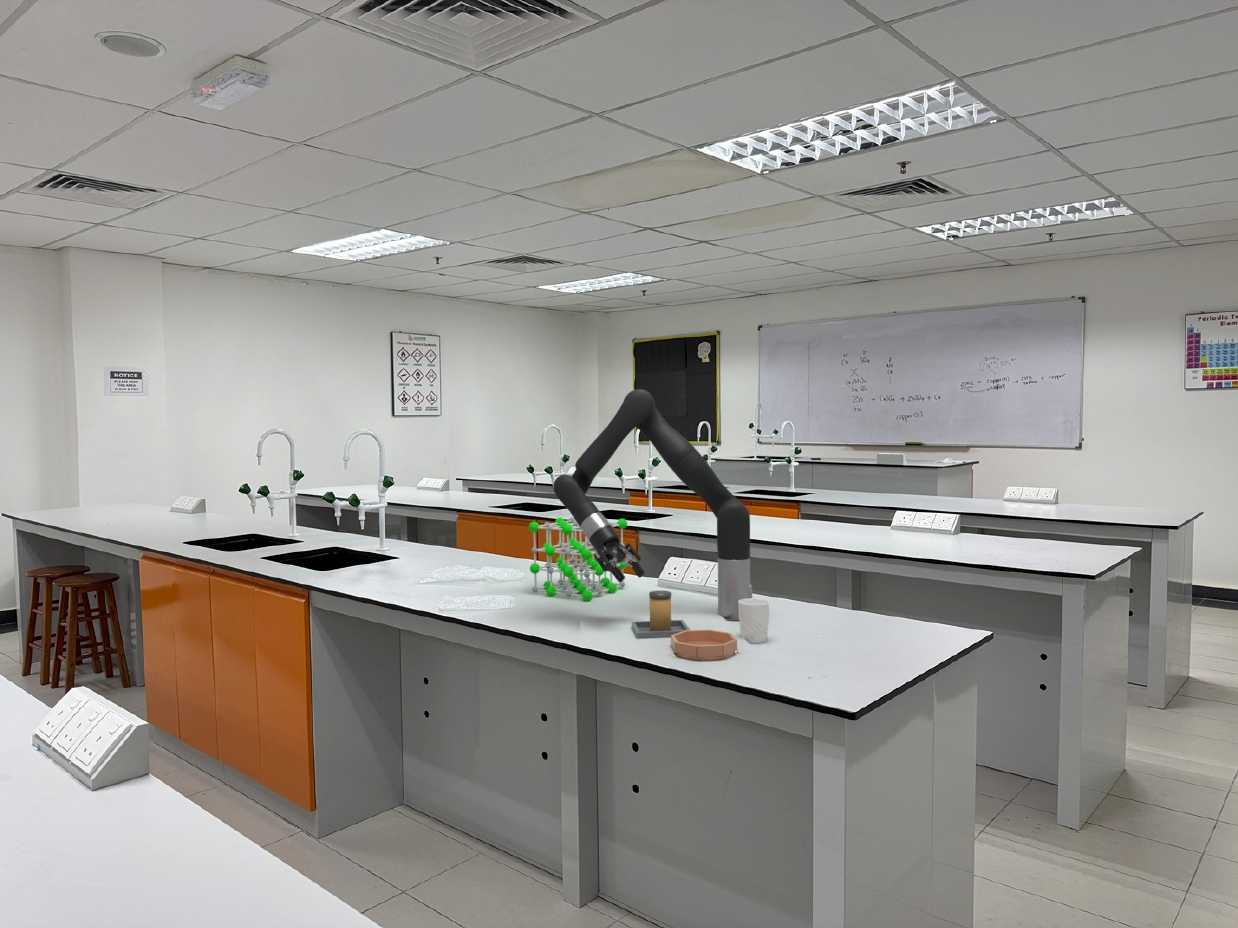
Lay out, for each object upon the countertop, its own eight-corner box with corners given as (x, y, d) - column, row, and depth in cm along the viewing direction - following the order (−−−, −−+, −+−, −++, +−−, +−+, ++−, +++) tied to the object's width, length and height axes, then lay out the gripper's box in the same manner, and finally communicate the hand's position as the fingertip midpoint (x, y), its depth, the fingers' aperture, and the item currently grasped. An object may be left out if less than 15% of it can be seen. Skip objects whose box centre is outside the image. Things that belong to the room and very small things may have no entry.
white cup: (762, 645, 206) (762, 606, 205) (733, 641, 210) (733, 602, 209) (774, 638, 212) (773, 600, 212) (745, 634, 216) (745, 597, 216)
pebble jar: (669, 628, 220) (669, 590, 219) (673, 633, 214) (672, 594, 214) (648, 629, 219) (647, 590, 219) (651, 634, 213) (650, 595, 213)
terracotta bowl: (726, 642, 209) (726, 628, 209) (741, 659, 194) (741, 644, 194) (667, 644, 207) (667, 631, 207) (678, 661, 192) (678, 647, 192)
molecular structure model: (630, 588, 279) (629, 518, 278) (588, 602, 258) (587, 526, 257) (572, 582, 292) (571, 514, 291) (528, 594, 271) (526, 522, 270)
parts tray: (682, 628, 223) (682, 619, 223) (691, 640, 211) (691, 630, 211) (631, 630, 222) (631, 621, 222) (637, 642, 210) (637, 632, 210)
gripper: (589, 526, 221) (623, 573, 215) (623, 521, 232) (656, 565, 226) (575, 544, 225) (608, 590, 218) (609, 538, 236) (641, 582, 229)
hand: (632, 577), depth 222 cm, fingers open, 8 cm apart
